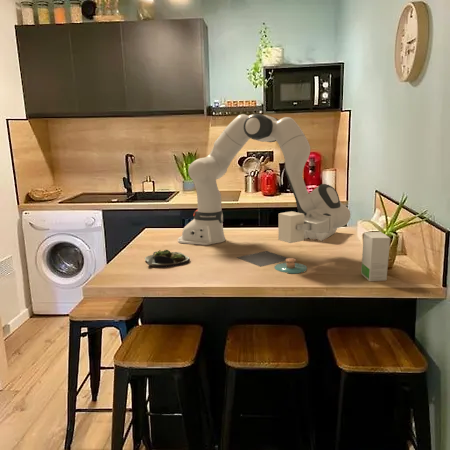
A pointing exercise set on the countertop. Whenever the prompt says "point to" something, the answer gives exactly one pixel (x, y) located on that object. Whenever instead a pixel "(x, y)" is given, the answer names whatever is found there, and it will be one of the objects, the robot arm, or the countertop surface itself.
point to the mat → (263, 258)
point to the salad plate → (166, 259)
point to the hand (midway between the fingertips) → (289, 225)
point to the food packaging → (317, 235)
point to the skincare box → (375, 256)
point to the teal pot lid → (291, 267)
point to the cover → (290, 227)
